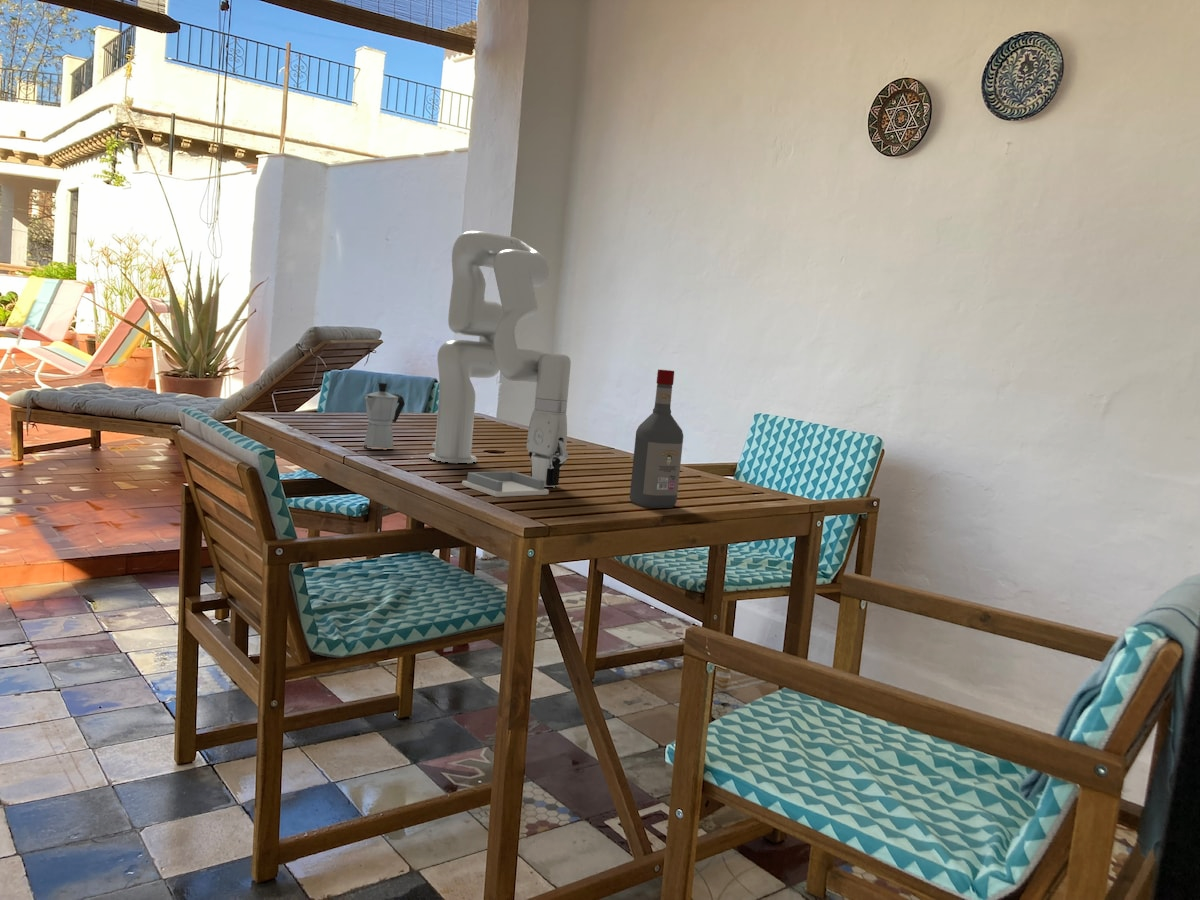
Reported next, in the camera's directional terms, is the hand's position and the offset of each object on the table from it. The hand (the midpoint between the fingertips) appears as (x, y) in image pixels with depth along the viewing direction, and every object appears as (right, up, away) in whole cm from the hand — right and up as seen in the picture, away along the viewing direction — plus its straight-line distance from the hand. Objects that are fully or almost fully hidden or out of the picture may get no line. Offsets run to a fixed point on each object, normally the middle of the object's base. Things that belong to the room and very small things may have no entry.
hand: (544, 482), depth 221 cm
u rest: (-8, -1, -11) cm, 13 cm away
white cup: (0, -1, 0) cm, 1 cm away
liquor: (+25, -5, -11) cm, 28 cm away
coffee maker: (-47, +8, +38) cm, 61 cm away
